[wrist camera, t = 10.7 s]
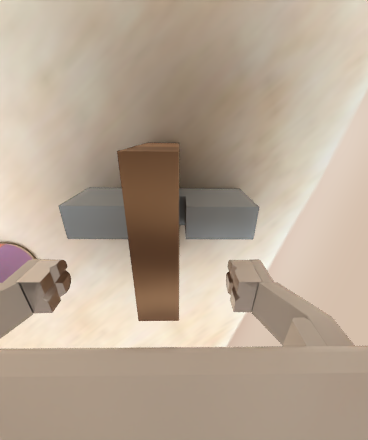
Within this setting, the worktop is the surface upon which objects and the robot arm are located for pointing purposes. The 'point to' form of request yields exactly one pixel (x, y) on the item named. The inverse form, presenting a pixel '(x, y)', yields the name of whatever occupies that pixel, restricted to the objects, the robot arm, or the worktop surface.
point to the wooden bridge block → (153, 226)
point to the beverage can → (12, 259)
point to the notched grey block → (188, 214)
